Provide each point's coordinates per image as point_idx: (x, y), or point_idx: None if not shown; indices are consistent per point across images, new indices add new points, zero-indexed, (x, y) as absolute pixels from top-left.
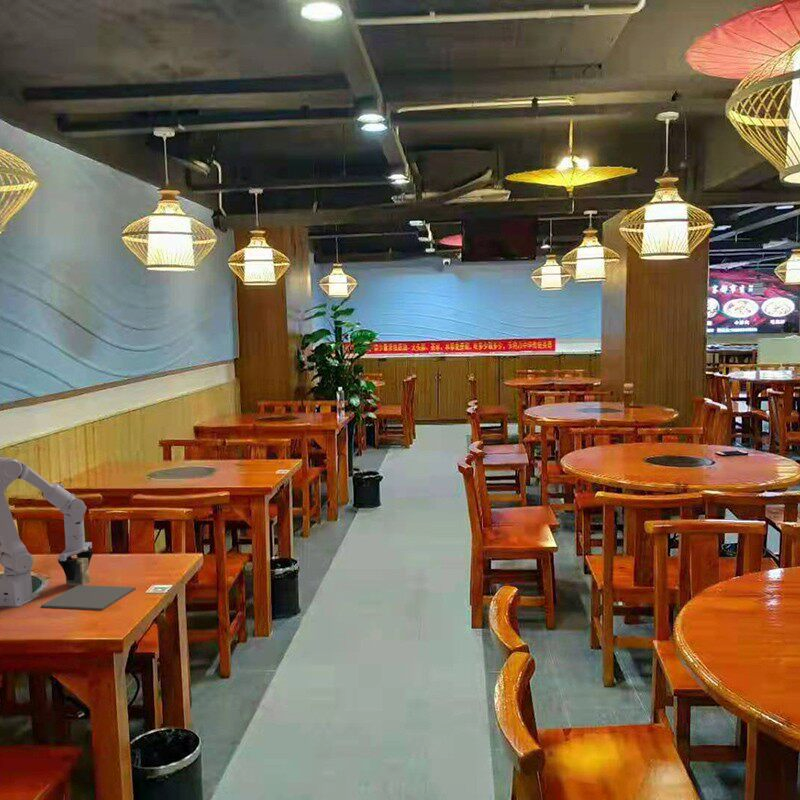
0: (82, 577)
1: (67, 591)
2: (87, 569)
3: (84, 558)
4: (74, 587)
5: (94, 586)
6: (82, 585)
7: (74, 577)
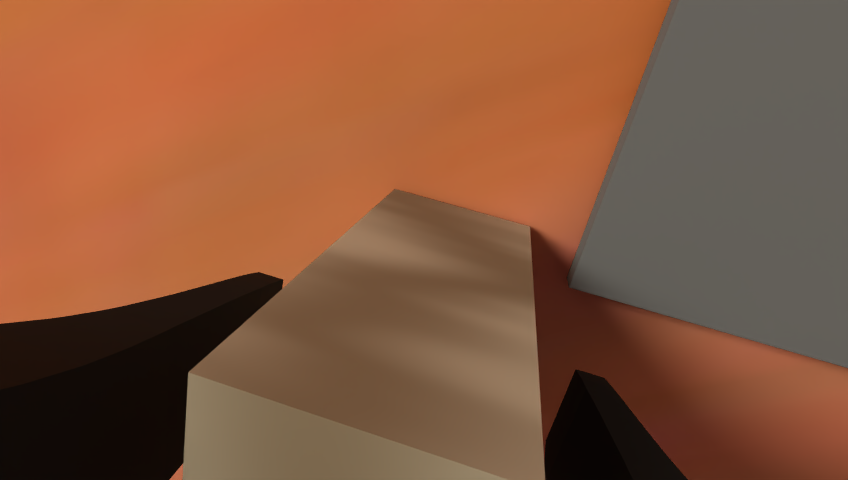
0: (532, 270)
1: (843, 346)
2: (367, 260)
3: (225, 463)
4: (669, 302)
5: (716, 8)
6: (605, 221)
7: (582, 382)
